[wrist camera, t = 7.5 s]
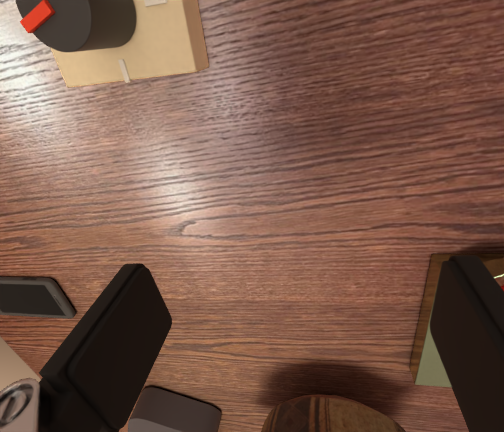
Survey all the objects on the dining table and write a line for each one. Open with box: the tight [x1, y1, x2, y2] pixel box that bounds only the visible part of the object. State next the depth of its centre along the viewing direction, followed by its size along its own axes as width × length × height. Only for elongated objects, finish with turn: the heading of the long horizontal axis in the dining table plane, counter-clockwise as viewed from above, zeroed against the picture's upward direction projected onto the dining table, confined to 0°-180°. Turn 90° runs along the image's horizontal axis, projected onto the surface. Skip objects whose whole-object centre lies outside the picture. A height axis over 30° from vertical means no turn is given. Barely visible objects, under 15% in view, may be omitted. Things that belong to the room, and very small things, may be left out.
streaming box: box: [128, 387, 221, 432], centre depth 52 cm, size 14×14×5 cm
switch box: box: [410, 253, 504, 387], centre depth 29 cm, size 19×9×4 cm, turn 9°
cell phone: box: [0, 277, 76, 319], centre depth 41 cm, size 7×14×1 cm, turn 98°
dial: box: [16, 0, 136, 52], centre depth 16 cm, size 4×4×5 cm
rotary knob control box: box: [51, 0, 209, 88], centre depth 19 cm, size 10×8×3 cm
